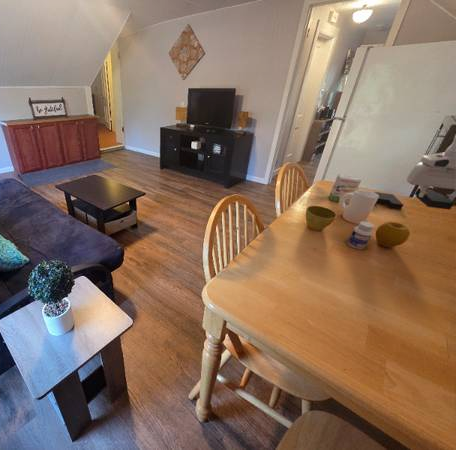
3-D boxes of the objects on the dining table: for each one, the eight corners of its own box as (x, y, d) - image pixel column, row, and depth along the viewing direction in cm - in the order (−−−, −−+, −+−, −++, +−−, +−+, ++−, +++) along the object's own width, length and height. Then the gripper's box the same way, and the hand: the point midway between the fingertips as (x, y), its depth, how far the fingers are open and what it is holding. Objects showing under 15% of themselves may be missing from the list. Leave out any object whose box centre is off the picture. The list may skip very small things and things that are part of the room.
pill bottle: (349, 239, 91) (359, 218, 87) (366, 245, 88) (378, 224, 83) (345, 244, 88) (356, 224, 83) (362, 251, 85) (375, 230, 80)
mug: (340, 209, 111) (351, 184, 105) (369, 221, 103) (383, 195, 96) (329, 213, 108) (340, 188, 102) (358, 225, 99) (372, 199, 93)
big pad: (390, 198, 121) (393, 194, 120) (400, 209, 111) (403, 204, 110) (357, 194, 125) (359, 189, 124) (364, 204, 116) (366, 199, 114)
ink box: (330, 200, 119) (339, 177, 113) (328, 196, 123) (337, 174, 117) (350, 203, 116) (361, 180, 110) (348, 199, 120) (359, 176, 114)
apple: (403, 255, 83) (418, 233, 79) (372, 247, 87) (385, 226, 82) (397, 242, 90) (410, 221, 85) (368, 235, 93) (380, 215, 88)
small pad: (431, 196, 94) (435, 190, 93) (450, 209, 85) (454, 203, 84) (411, 193, 96) (415, 187, 95) (428, 206, 87) (432, 200, 85)
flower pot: (327, 237, 92) (335, 221, 88) (298, 228, 97) (304, 212, 93) (330, 226, 99) (338, 210, 95) (303, 218, 104) (309, 203, 100)
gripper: (494, 161, 81) (466, 199, 88) (416, 155, 87) (396, 191, 94) (509, 167, 76) (478, 207, 83) (426, 160, 82) (404, 197, 89)
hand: (434, 198), depth 89 cm, fingers closed on small pad, 6 cm apart
